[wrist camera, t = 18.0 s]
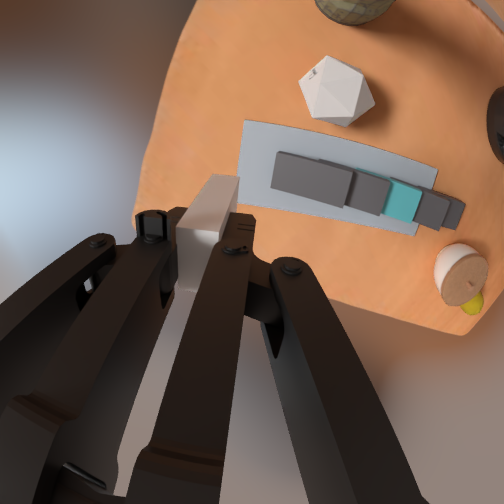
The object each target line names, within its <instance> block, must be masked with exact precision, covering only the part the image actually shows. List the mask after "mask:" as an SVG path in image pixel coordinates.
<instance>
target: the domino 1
mask: <svg viewBox="0 0 504 504" xmlns="http://www.w3.org/2000/svg"><path fill="white" fill-rule="evenodd" d="M352 174H353V170H350V169H347V168H344V167H340V166H337V165H333V164H330V163H326V162H322V161H319V160H315V159H311V158H307V157H303V156H299V155H295V154H291V153H287V152H283V151H278V152H277V153H276V158H275V164H274V170H273V175H272V181H271V186H270V188H272V189H276V190H279V191H283V192H287V193H291V194H294V195H298V196H301V197H305V198H308V199H312V200H315V201H319V202H322V203H326V204H329V205H332V206H336V207H339V208H342V209H343V206H344V203H345V200H346V196H347V192H348V189H349V185H350V182H351V178H352Z"/></svg>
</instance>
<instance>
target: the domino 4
mask: <svg viewBox="0 0 504 504" xmlns="http://www.w3.org/2000/svg"><path fill="white" fill-rule="evenodd" d="M418 187H420V188H423V189H425V190H428V191H430V192H433V193H435V194H438V195H440V196H442V197H445V198H447V199H448V200H449V201H450V204H449V206H448V209H447V212H446V214H445V217H444V220H443V222H442V225H441V226H442V227H446V228H449V229H452V230H455V229H456V227H457V225H458V222H459V220H460V217H461V215H462V212H463V209H464V207H465V203H463V202H462V201H461V200H458V199H456V198H453V197H450V196H448V195H445V194H442V193H439V192H437V191H434V190H431V189H428V188H425V187H422V186H419V185H418Z"/></svg>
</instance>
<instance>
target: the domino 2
mask: <svg viewBox="0 0 504 504" xmlns="http://www.w3.org/2000/svg"><path fill="white" fill-rule="evenodd" d="M319 161H322V162H326V163H330V164H333V165H337V166H340V167H344V168H347V169H350V170H353V174H352V178H351V182H350V185H349V189H348V192H347V196H346V200H345V203H344V205H345V206H348V207H351V208H354V209H358V210H361V211H364V212H367V213H370V214H373V215H376V216H380V213H381V211H382V208H383V205H384V201H385V198H386V195H387V192H388V189H389V186H390V181H389V180H388V179H385V178H382V177H379V176H376V175H373V174H370V173H367V172H364V171H360V170H357V169H354V168H351V167H347V166H344V165H341V164H337V163H334V162H330V161H327V160H323V159H319Z"/></svg>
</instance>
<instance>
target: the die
mask: <svg viewBox="0 0 504 504" xmlns="http://www.w3.org/2000/svg"><path fill="white" fill-rule="evenodd" d="M298 82H299V85H300V87H301V90H302V92H303V95H304V97H305V100H306V103H307V105H308V108H309V110H310V113H311V116H312V118H315V119H319V120H322V121H326V122H330V123H333V124H337V125H340V126H343V127H347V126H348V125H349V124H351V123H352V122H353V121H355V120H356V119H357V118H358V117H360V116H361V115H362V114H364V113H365V112H366V111H368V110H369V109H370V108H372V107H373V106H374V105H375V102H374V99H373V97H372V94H371V92H370V90H369V87H368V85H367V82H366V80H365V78H364V76H363V74H362V72H361V70H360V69H359V68H357V67H354V66H352V65H350V64H347V63H345V62H343V61H340V60H338V59H335V58H333V57H330V56H328V55H327V56H326V57H324V58H323V59H322V60H321V61H320V62H319V63H318V64H317V65H316V66H314V67H313V68H312V69H311V70H310V71H309V72H308V73H307V74H306V75H305V76H304V77H302V78H301V79H300V80H299V81H298Z"/></svg>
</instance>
